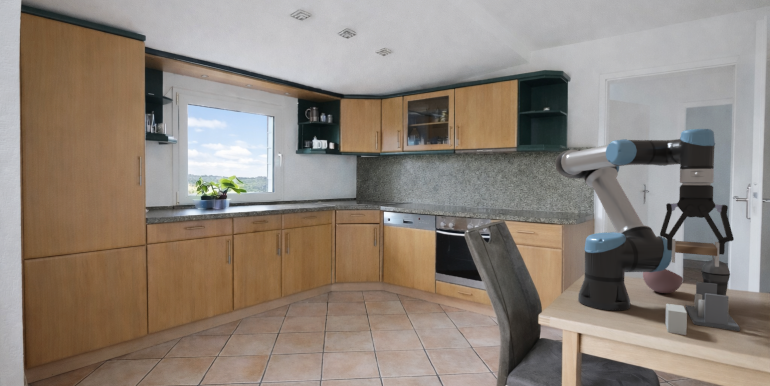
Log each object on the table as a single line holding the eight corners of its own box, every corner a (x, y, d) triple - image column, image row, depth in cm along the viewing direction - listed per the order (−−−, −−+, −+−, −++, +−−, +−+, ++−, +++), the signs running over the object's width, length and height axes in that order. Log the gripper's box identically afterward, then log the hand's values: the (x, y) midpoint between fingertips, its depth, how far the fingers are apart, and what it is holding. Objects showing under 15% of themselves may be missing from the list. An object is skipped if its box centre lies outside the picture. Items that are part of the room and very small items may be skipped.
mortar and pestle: (690, 296, 142) (691, 264, 142) (663, 298, 139) (664, 265, 139) (660, 287, 154) (661, 257, 153) (634, 289, 151) (635, 259, 151)
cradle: (693, 324, 114) (694, 293, 114) (685, 307, 129) (686, 280, 129) (739, 331, 109) (740, 298, 109) (725, 313, 124) (726, 284, 124)
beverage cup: (734, 312, 124) (736, 248, 124) (708, 311, 126) (710, 248, 125) (720, 305, 132) (722, 245, 131) (695, 304, 133) (697, 244, 132)
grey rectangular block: (667, 332, 108) (668, 310, 108) (665, 324, 114) (665, 303, 114) (686, 335, 106) (686, 312, 106) (682, 326, 112) (683, 305, 112)
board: (675, 252, 111) (675, 245, 111) (674, 247, 120) (674, 240, 120) (717, 256, 106) (717, 248, 106) (713, 250, 115) (713, 243, 115)
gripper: (649, 184, 116) (648, 261, 116) (750, 184, 103) (747, 271, 104) (650, 184, 122) (648, 257, 123) (745, 184, 110) (743, 266, 110)
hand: (694, 263), depth 113 cm, fingers closed on board, 9 cm apart
